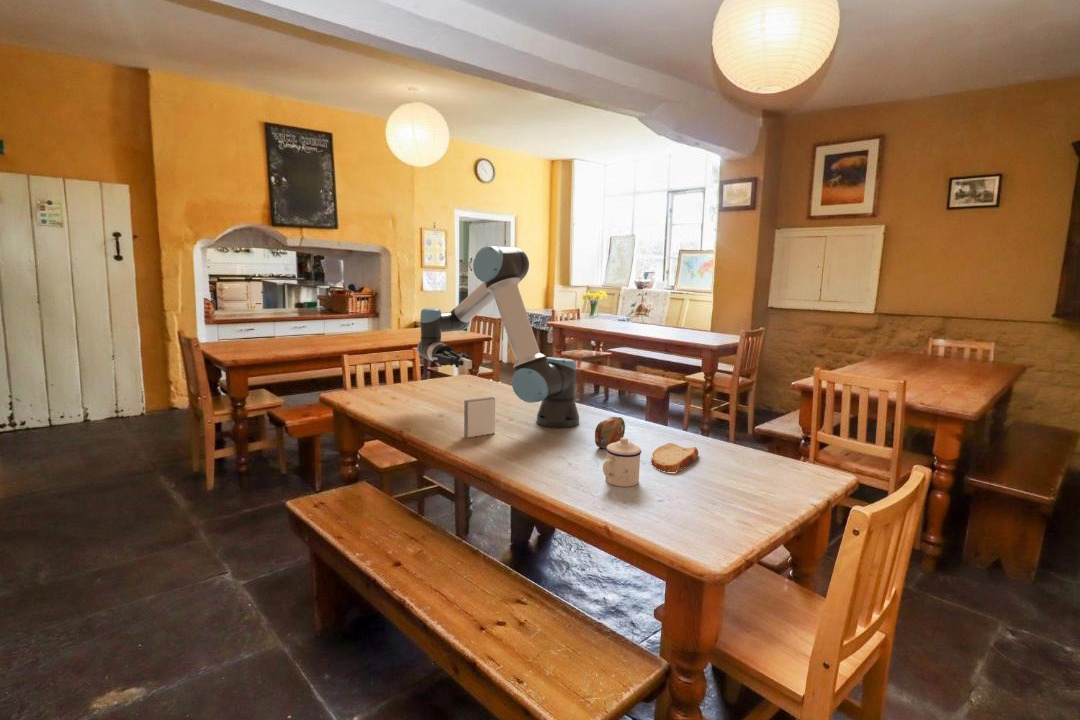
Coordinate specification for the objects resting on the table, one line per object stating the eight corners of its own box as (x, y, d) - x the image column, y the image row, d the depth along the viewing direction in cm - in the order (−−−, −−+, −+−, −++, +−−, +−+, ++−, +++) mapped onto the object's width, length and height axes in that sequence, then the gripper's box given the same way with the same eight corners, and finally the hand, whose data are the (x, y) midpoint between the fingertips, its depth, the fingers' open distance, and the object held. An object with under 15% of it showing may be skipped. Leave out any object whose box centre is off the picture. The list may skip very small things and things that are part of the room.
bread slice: (662, 475, 152) (663, 462, 152) (634, 453, 170) (635, 441, 169) (720, 470, 157) (721, 458, 157) (687, 449, 174) (688, 438, 174)
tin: (601, 452, 169) (602, 425, 168) (592, 449, 171) (593, 423, 170) (625, 440, 181) (626, 415, 180) (616, 438, 183) (618, 413, 181)
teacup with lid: (619, 471, 153) (622, 431, 151) (646, 482, 147) (649, 439, 145) (589, 482, 146) (591, 439, 143) (616, 493, 139) (619, 448, 137)
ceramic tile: (464, 436, 181) (464, 400, 179) (491, 431, 186) (492, 396, 184) (467, 438, 179) (467, 401, 177) (494, 433, 184) (495, 398, 182)
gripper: (457, 362, 208) (487, 374, 189) (424, 365, 201) (451, 377, 182) (457, 342, 207) (487, 352, 188) (424, 344, 200) (451, 354, 181)
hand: (469, 364), depth 185 cm, fingers closed
